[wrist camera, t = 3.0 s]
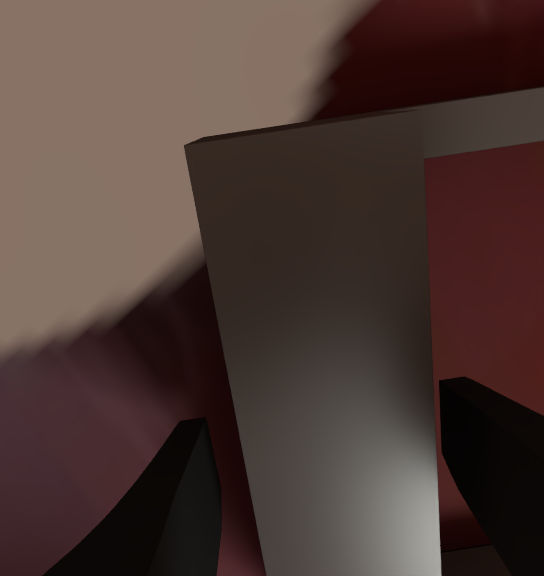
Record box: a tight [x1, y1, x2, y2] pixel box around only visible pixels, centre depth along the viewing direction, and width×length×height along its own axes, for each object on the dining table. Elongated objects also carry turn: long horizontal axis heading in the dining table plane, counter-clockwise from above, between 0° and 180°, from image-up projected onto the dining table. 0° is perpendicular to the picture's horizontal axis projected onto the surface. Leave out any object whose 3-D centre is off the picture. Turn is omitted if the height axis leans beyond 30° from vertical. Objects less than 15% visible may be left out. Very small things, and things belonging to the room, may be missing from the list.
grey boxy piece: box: [184, 86, 544, 576], centre depth 11 cm, size 8×14×4 cm, turn 8°
